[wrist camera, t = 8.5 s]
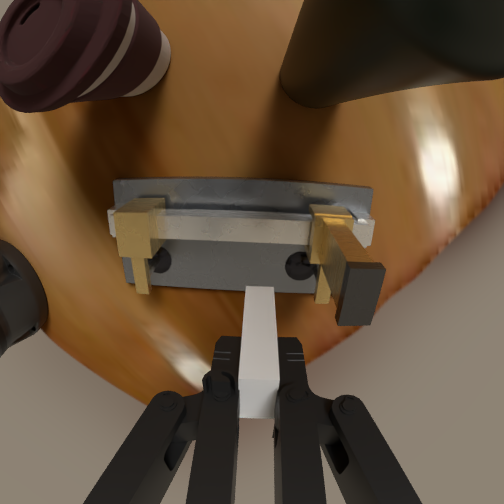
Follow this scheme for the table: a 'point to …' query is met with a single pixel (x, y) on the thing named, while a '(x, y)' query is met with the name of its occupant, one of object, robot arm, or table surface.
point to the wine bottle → (390, 47)
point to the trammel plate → (235, 254)
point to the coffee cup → (78, 52)
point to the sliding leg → (342, 266)
